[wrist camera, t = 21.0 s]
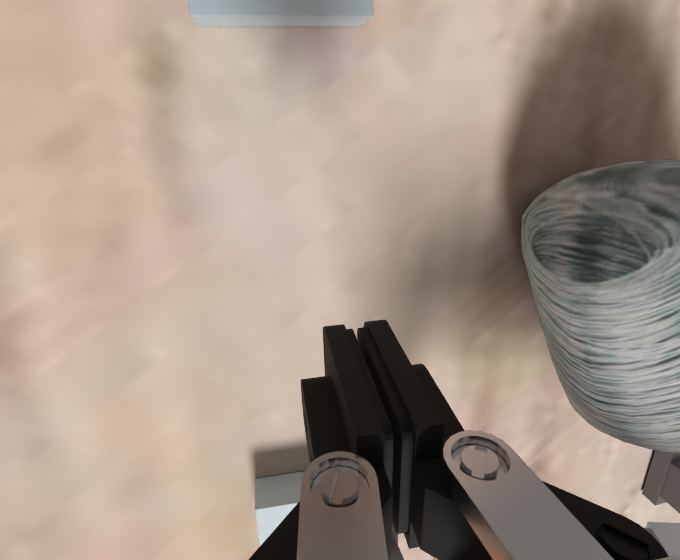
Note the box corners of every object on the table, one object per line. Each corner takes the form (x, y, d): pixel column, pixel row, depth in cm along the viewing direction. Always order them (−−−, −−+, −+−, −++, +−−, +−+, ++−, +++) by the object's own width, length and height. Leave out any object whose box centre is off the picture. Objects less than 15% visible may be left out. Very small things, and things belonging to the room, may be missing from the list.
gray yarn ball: (462, 215, 17) (841, 311, 10) (582, 108, 20) (916, 122, 13) (487, 415, 25) (702, 543, 18) (569, 312, 29) (772, 385, 22)
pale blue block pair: (184, -77, 15) (173, -104, 13) (359, -70, 15) (373, -95, 14) (260, 519, 25) (260, 552, 23) (363, 501, 26) (372, 532, 24)
